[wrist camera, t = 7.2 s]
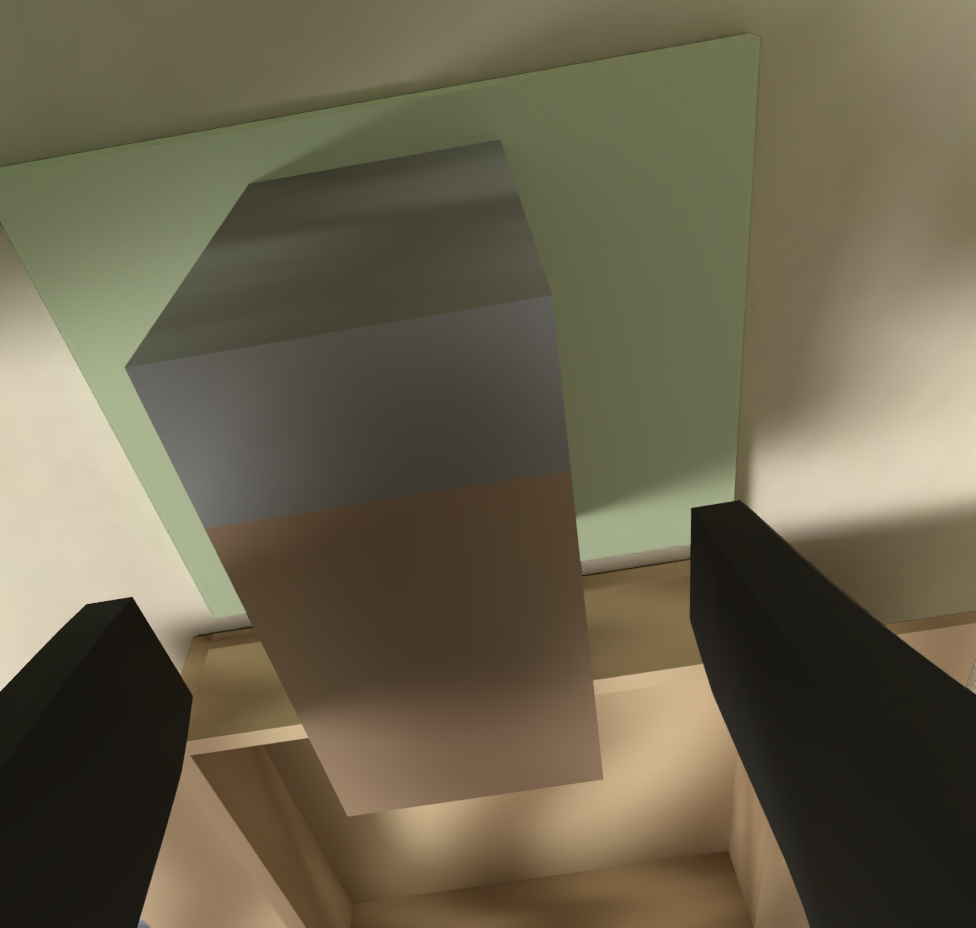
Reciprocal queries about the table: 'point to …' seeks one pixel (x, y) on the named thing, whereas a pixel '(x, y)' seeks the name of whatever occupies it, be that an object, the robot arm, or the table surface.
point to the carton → (493, 802)
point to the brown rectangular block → (390, 472)
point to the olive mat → (556, 232)
